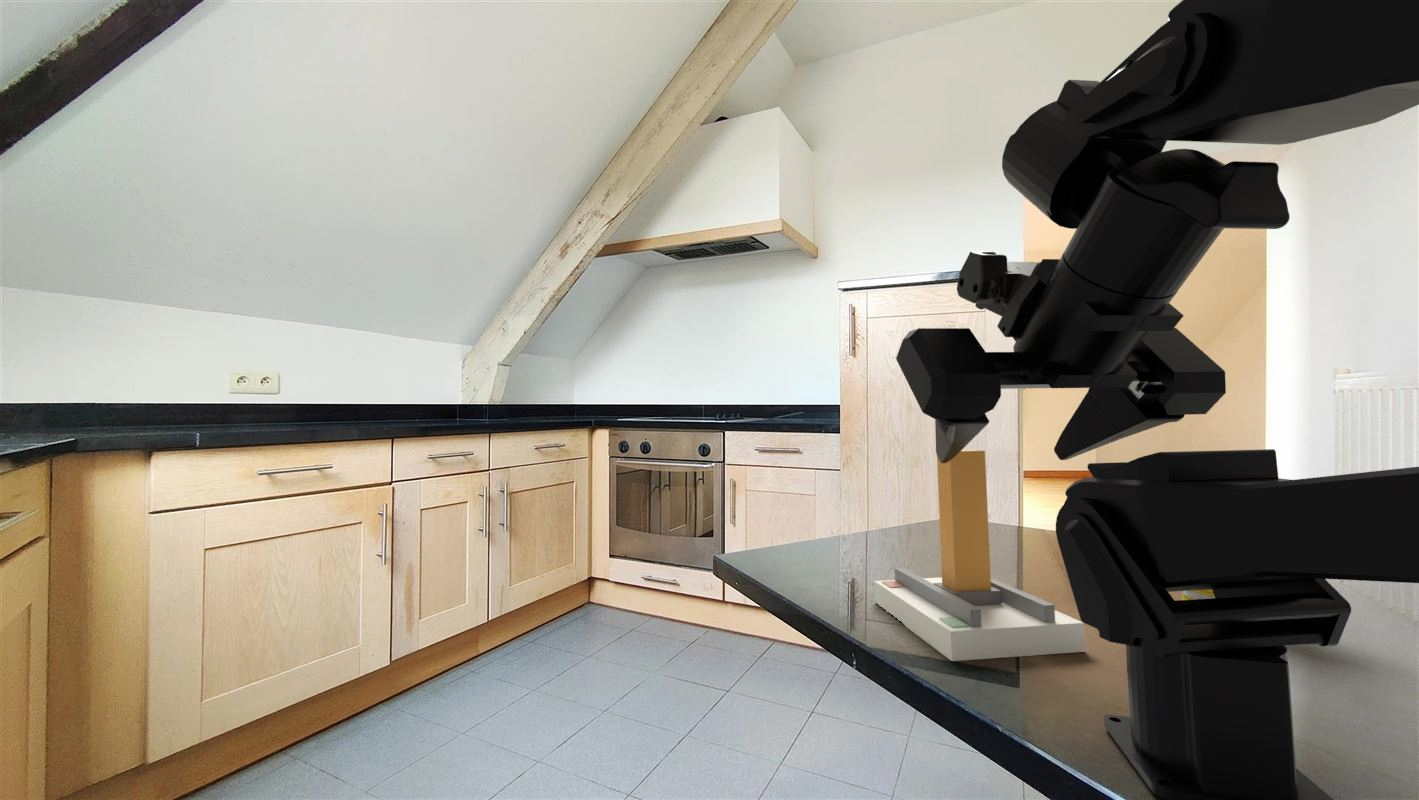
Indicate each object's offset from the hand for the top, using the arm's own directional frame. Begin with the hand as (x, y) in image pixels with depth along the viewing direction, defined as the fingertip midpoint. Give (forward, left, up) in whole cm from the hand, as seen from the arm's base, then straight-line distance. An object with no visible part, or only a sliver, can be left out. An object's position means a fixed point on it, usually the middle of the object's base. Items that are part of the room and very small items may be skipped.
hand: (1000, 456), depth 41 cm
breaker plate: (+4, +2, -14) cm, 15 cm away
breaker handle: (+4, +2, -12) cm, 13 cm away
